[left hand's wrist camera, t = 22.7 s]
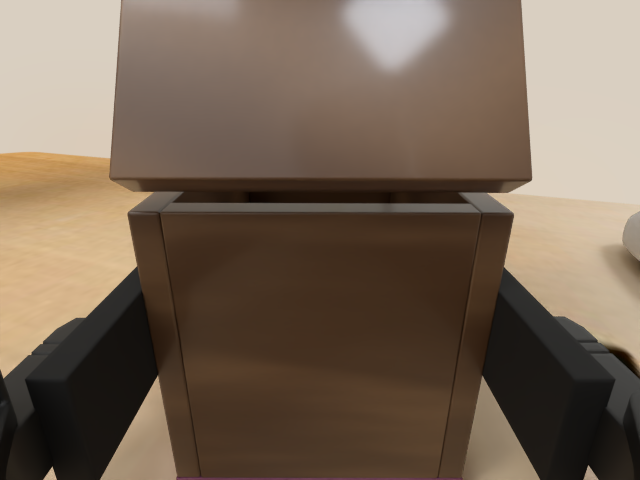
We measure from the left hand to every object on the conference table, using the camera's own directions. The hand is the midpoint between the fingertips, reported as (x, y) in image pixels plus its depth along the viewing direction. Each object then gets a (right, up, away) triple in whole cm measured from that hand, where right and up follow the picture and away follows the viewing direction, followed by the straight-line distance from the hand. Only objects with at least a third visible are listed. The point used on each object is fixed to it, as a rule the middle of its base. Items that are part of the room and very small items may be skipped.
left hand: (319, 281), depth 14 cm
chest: (0, -4, +5) cm, 7 cm away
